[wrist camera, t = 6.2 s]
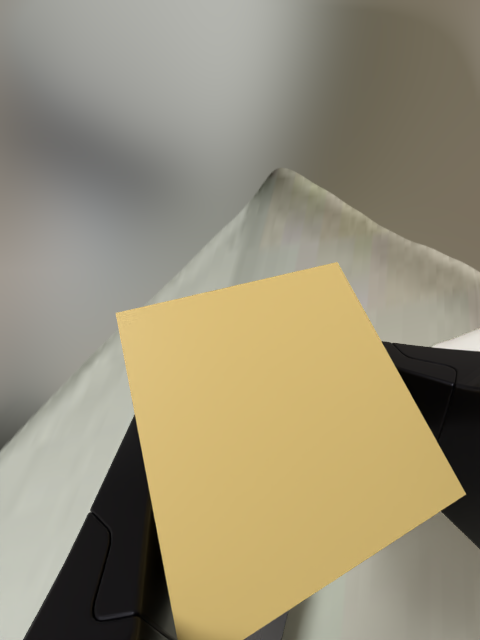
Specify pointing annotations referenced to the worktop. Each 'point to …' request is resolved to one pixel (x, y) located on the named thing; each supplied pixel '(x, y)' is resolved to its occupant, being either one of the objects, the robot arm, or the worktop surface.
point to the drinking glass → (462, 342)
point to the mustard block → (273, 445)
